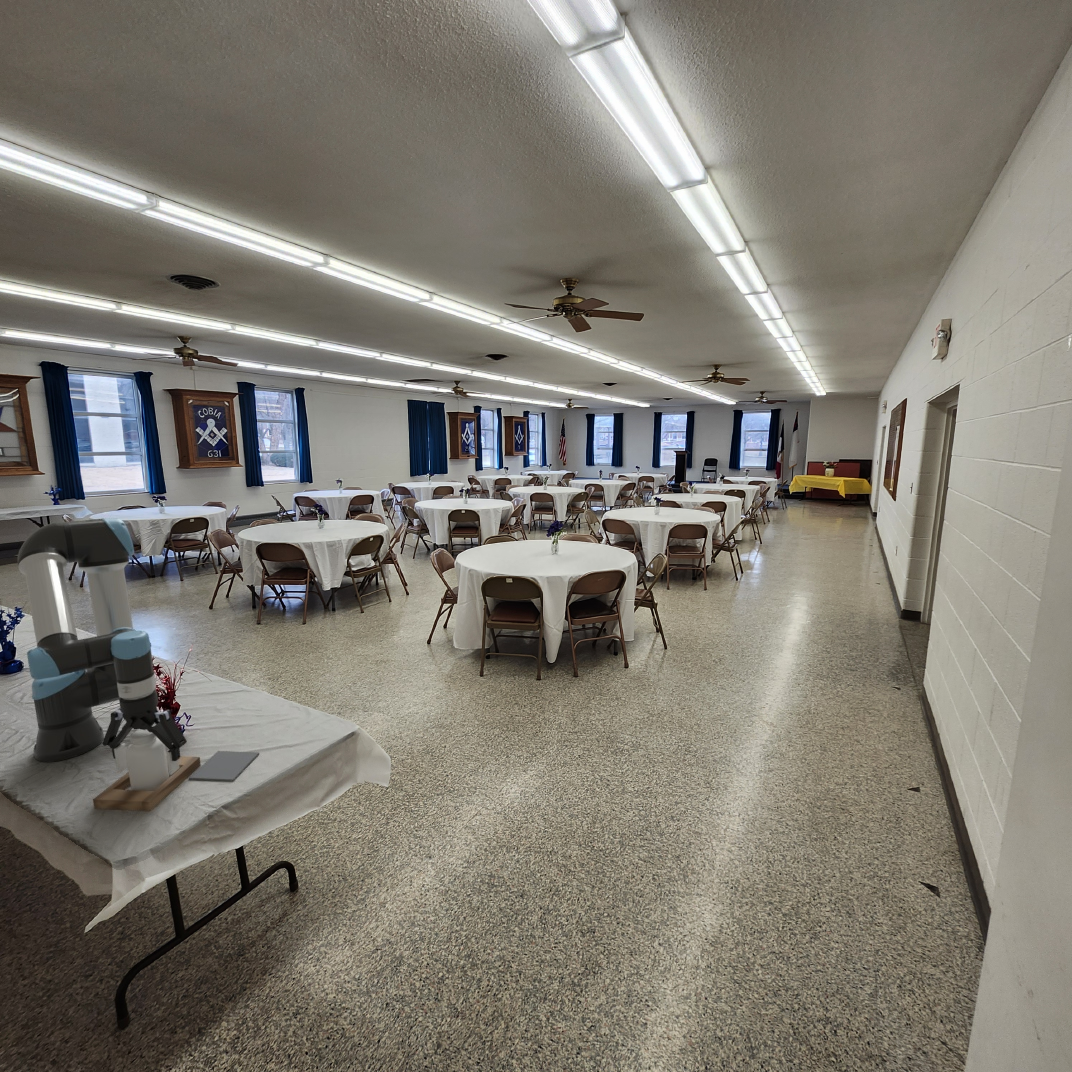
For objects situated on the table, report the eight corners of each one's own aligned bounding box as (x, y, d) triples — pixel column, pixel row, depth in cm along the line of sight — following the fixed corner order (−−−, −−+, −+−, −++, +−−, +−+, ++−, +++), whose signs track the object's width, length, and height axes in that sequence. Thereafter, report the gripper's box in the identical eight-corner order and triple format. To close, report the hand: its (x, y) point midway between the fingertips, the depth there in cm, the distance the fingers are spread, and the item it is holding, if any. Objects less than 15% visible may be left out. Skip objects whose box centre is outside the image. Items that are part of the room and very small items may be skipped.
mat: (188, 779, 139) (188, 777, 138) (218, 752, 150) (218, 750, 150) (233, 781, 138) (233, 779, 138) (259, 754, 150) (259, 752, 150)
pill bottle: (125, 798, 131) (117, 743, 128) (139, 778, 139) (132, 726, 136) (162, 792, 133) (155, 738, 131) (174, 773, 141) (167, 722, 138)
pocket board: (94, 808, 127) (92, 799, 127) (151, 763, 145) (150, 754, 145) (150, 810, 127) (148, 801, 126) (200, 765, 144) (199, 756, 144)
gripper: (76, 699, 128) (89, 777, 132) (175, 702, 127) (185, 781, 131) (102, 684, 136) (114, 759, 139) (196, 687, 134) (205, 763, 138)
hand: (148, 770), depth 135 cm, fingers open, 13 cm apart
